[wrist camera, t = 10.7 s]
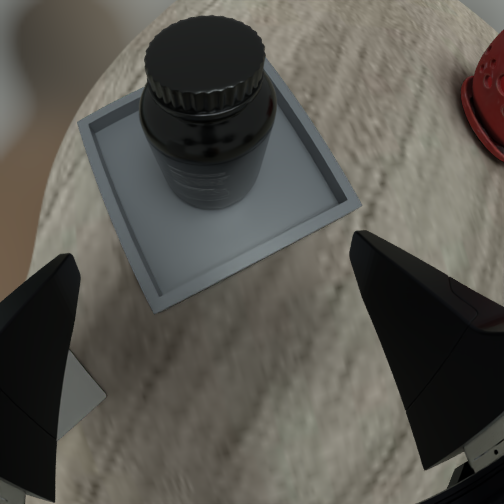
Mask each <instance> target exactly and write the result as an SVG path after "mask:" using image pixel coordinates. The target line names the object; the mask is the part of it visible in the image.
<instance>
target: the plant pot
mask: <svg viewBox="0 0 504 504" xmlns="http://www.w3.org/2000/svg"><path fill="white" fill-rule="evenodd" d="M461 100H462V105H463V108H464V111H465V114H466V117H467V119H468V121H469V123H470V125H471V127H472V129H473V131H474V132H475V134H476V135H477V137H478V138H479V139H480V141H481V142H482V143H483V145H484V146H485V147H486V148H487V149H488V150H489V151H490V152H491V153H492V154H493V155H494V156H495V157H497V158H498V159H500V160H501V161H503V162H504V30H503V31H502V32H501V33H500V34H499V35H498V36H497V37H496V38H495V39H494V40H493V41H492V43H491V44H490V45H489V47H488V48H487V49H486V51H485V52H484V54H483V55H482V57H481V59H480V61H479V63H478V65H477V68H476V71H475V74H474V76H469V77H468V78H466V79H465V80H464V82H463V84H462V87H461Z"/></svg>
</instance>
